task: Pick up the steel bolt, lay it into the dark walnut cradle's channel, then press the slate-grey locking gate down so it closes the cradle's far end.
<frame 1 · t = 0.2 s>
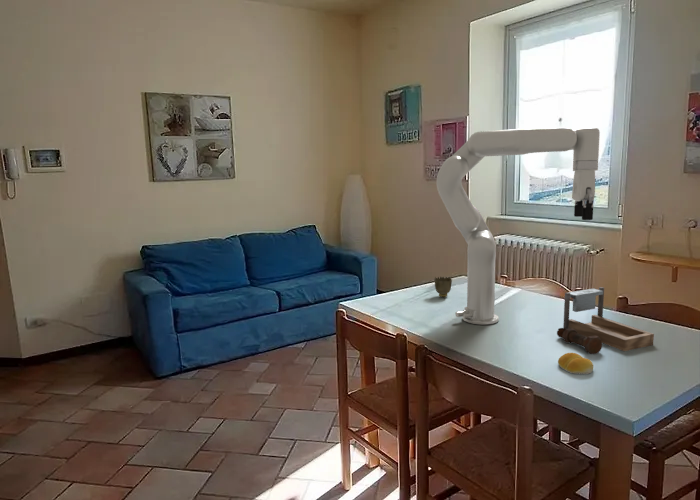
hand: (583, 218, 171), 37 cm above the table, tool pointing down, fingers open, 9 cm apart
cradle: (608, 336, 163), on the table
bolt: (577, 346, 157), on the table
bread roll: (575, 369, 141), on the table
gate: (584, 300, 171), point 9 cm above the table, slide at 5.0 cm
cup: (443, 297, 217), on the table
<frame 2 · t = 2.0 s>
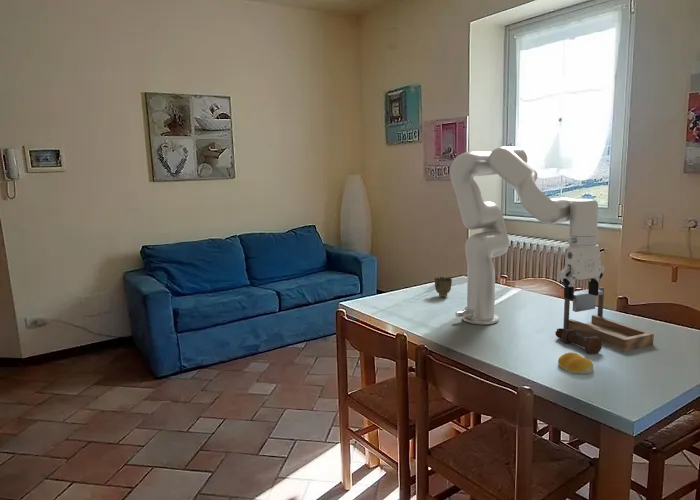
hand: (581, 296, 154), 15 cm above the table, tool pointing down, fingers open, 9 cm apart
nothing on the table moved.
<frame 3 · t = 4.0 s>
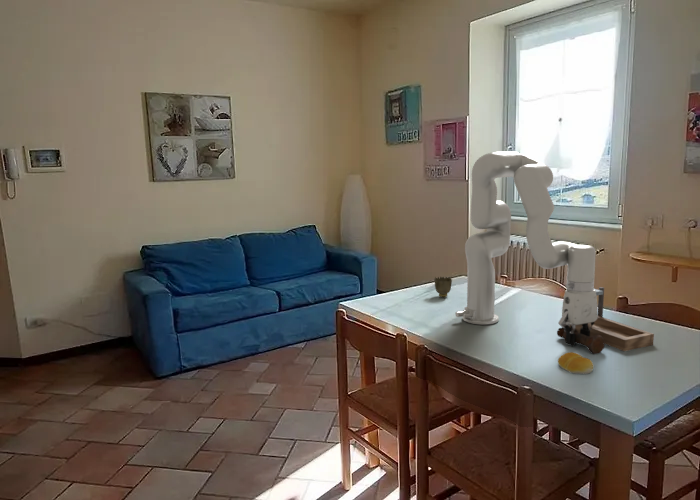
hand: (577, 342, 157), 1 cm above the table, tool pointing down, fingers closed on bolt, 5 cm apart
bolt: (578, 345, 157), on the table, touching gripper
everything else where it was.
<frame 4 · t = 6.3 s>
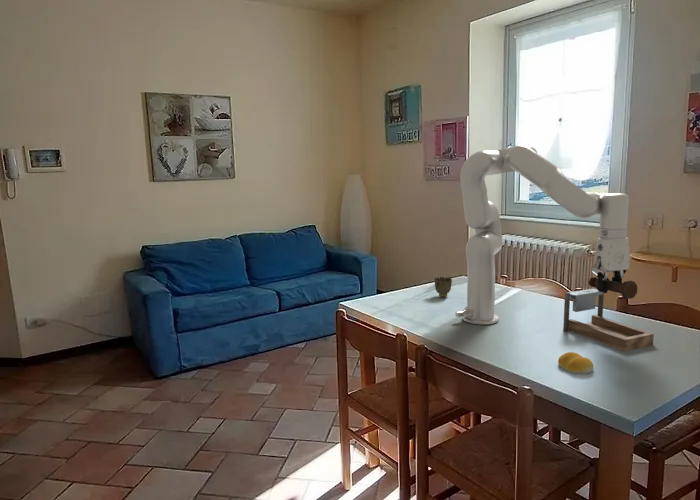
hand: (609, 290, 161), 15 cm above the table, tool pointing down, fingers closed on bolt, 5 cm apart
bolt: (610, 293, 160), point 15 cm above the table, touching gripper
everything else where it was.
when the fingers open (4 cm above the table, at t = 9.0 s): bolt drops 2 cm, resting on cradle.
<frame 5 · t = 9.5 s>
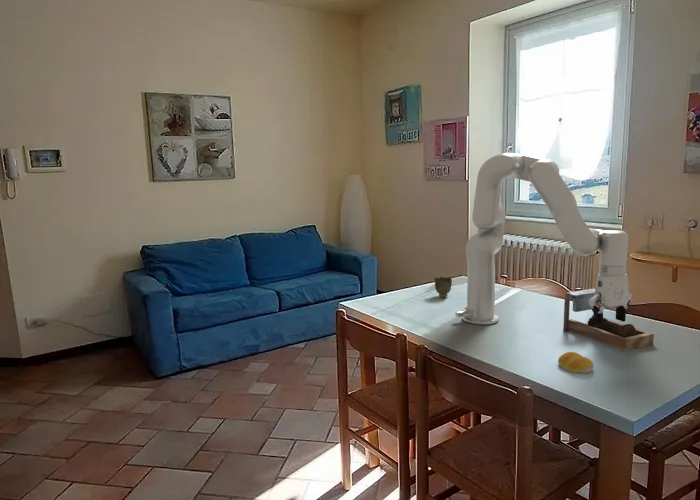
hand: (609, 322, 163), 5 cm above the table, tool pointing down, fingers open, 9 cm apart
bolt: (609, 334, 163), point 1 cm above the table, touching cradle
everything else where it was.
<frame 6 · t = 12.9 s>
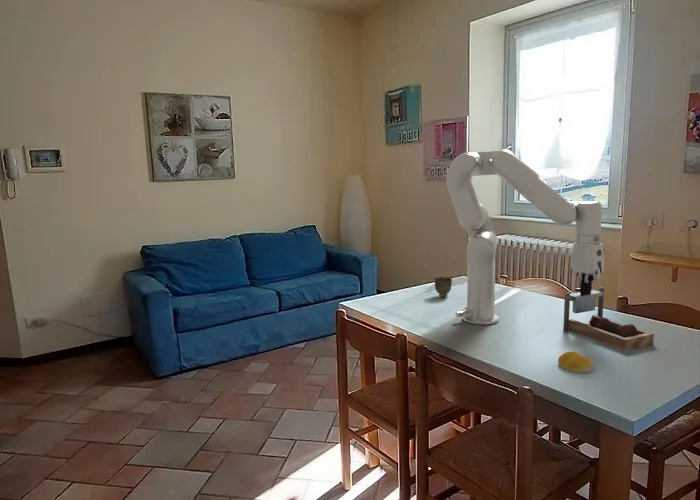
hand: (585, 293, 171), 12 cm above the table, tool pointing down, fingers closed
gate: (584, 302, 171), point 9 cm above the table, slide at 4.5 cm, touching gripper
everything else where it was.
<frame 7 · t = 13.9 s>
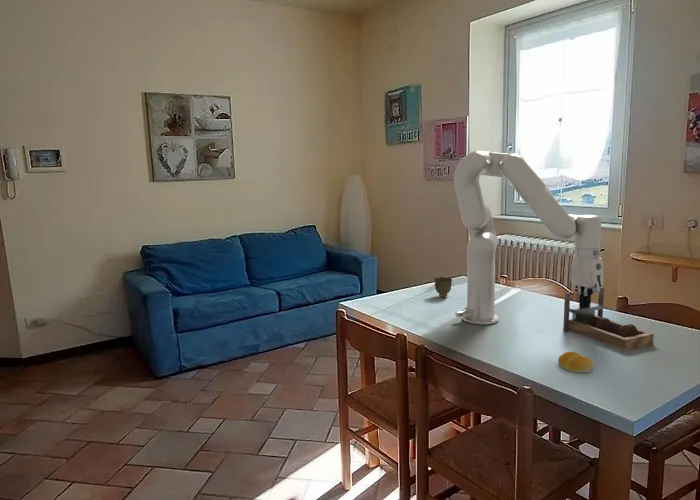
hand: (584, 306, 172), 8 cm above the table, tool pointing down, fingers closed
gate: (583, 315, 172), point 4 cm above the table, slide at 0.0 cm, touching gripper
everything else where it was.
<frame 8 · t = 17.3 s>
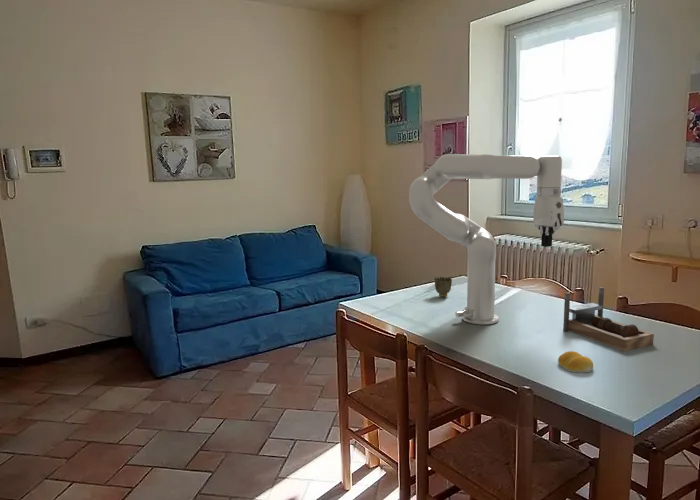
hand: (546, 246, 176), 27 cm above the table, tool pointing down, fingers closed
gate: (583, 315, 172), point 4 cm above the table, slide at 0.0 cm
at the end: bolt 1.2 cm off-centre on the cradle, point 0.8 cm above the cradle's base; gate slide at 0.0 cm; the gripper is holding nothing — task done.
